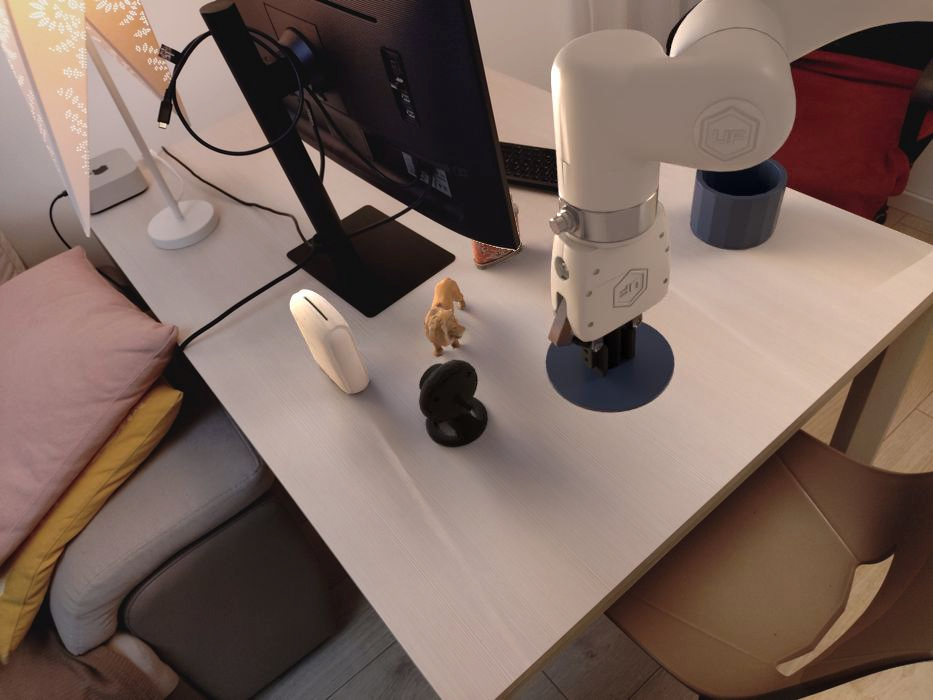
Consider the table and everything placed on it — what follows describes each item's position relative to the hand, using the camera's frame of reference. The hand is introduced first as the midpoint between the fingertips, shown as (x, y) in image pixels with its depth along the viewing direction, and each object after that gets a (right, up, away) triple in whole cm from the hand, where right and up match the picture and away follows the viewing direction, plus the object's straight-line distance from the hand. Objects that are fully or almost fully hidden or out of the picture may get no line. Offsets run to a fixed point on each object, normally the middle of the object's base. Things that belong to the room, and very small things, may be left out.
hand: (608, 357), depth 63 cm
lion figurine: (-16, +3, +23) cm, 28 cm away
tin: (+25, +19, +30) cm, 43 cm away
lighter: (-9, +15, +33) cm, 37 cm away
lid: (0, -1, +1) cm, 1 cm away
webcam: (-15, -8, +13) cm, 22 cm away
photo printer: (-31, -2, +22) cm, 38 cm away
